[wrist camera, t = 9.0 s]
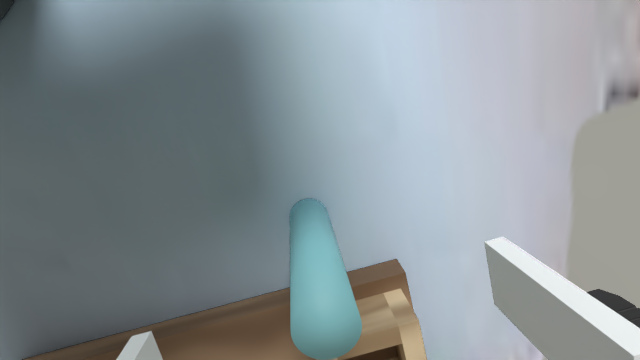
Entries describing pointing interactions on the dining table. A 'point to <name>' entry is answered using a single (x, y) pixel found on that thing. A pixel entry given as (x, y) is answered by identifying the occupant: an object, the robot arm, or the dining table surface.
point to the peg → (319, 286)
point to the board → (276, 327)
